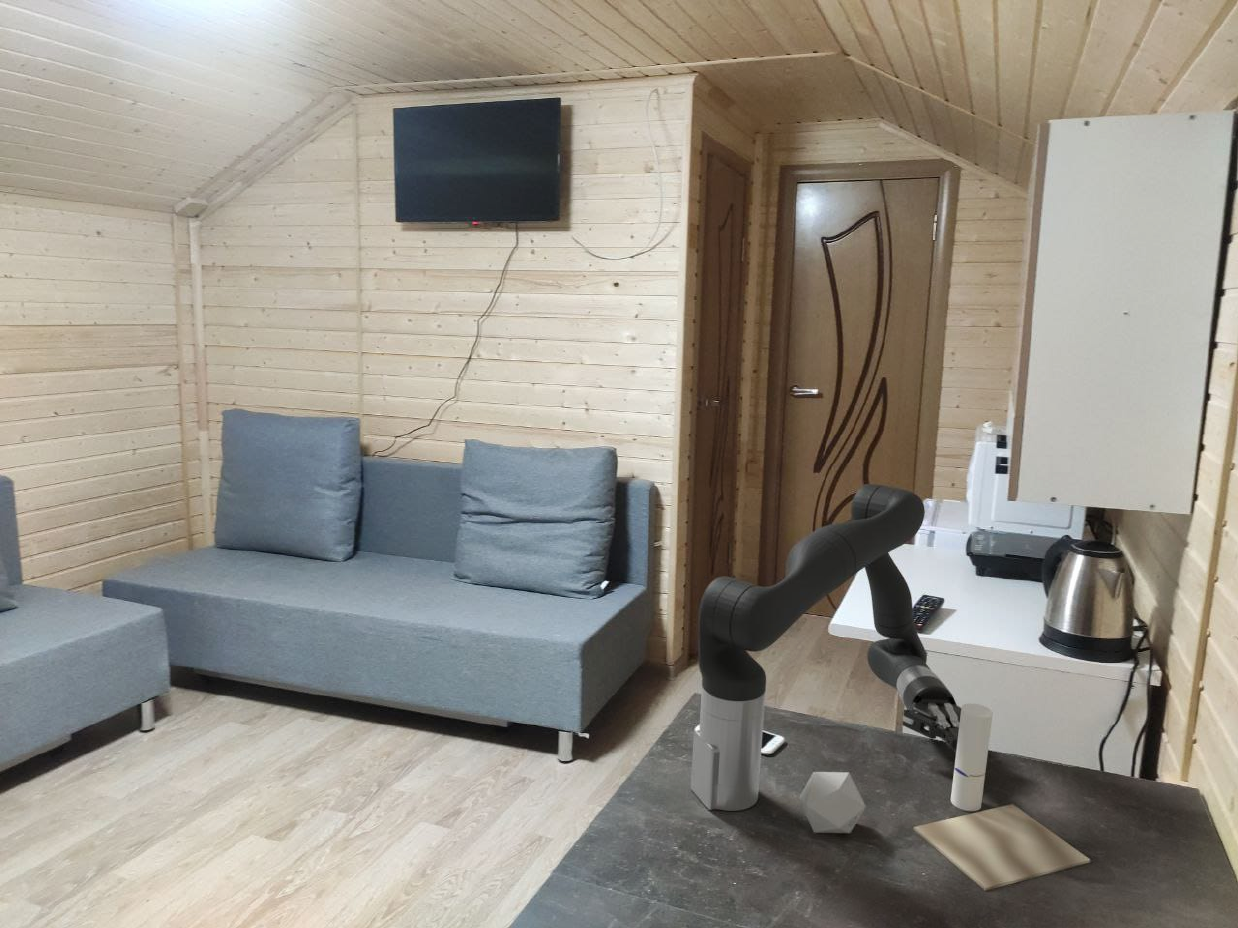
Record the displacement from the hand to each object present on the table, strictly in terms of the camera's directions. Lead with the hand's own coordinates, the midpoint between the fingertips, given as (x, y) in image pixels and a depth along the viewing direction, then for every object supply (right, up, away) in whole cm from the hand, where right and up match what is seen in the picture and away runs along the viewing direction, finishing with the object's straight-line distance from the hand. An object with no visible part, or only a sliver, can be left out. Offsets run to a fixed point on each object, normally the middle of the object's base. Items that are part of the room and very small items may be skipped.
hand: (960, 746), depth 142 cm
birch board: (+1, -10, -13) cm, 16 cm away
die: (-22, -9, -10) cm, 26 cm away
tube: (0, -8, -3) cm, 8 cm away
